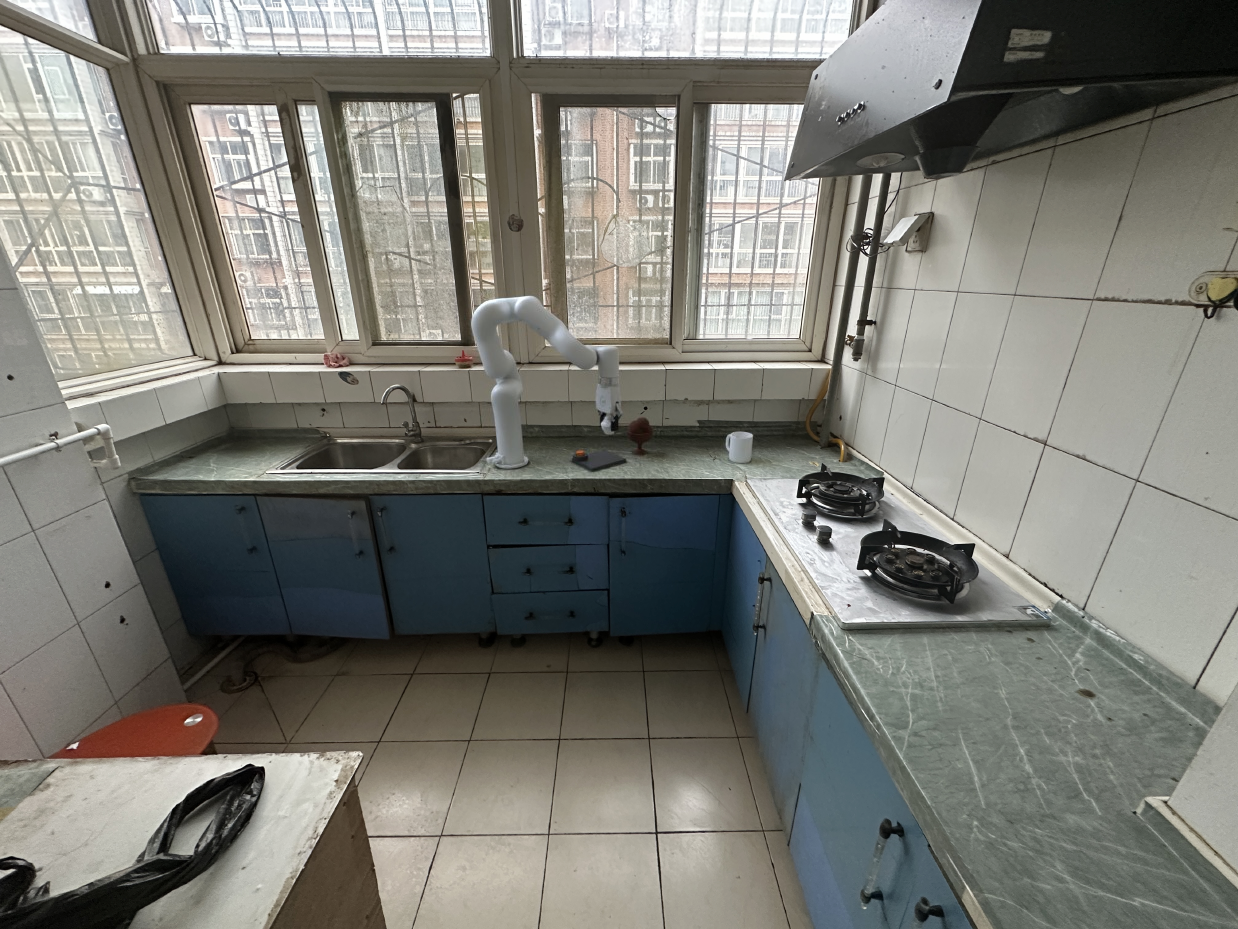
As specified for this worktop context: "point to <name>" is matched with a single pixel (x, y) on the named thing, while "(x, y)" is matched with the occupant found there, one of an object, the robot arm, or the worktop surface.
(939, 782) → the worktop surface
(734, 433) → the cup
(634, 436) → the ice cream bowl
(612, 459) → the scale
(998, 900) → the worktop surface
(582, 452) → the button
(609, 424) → the muffin
